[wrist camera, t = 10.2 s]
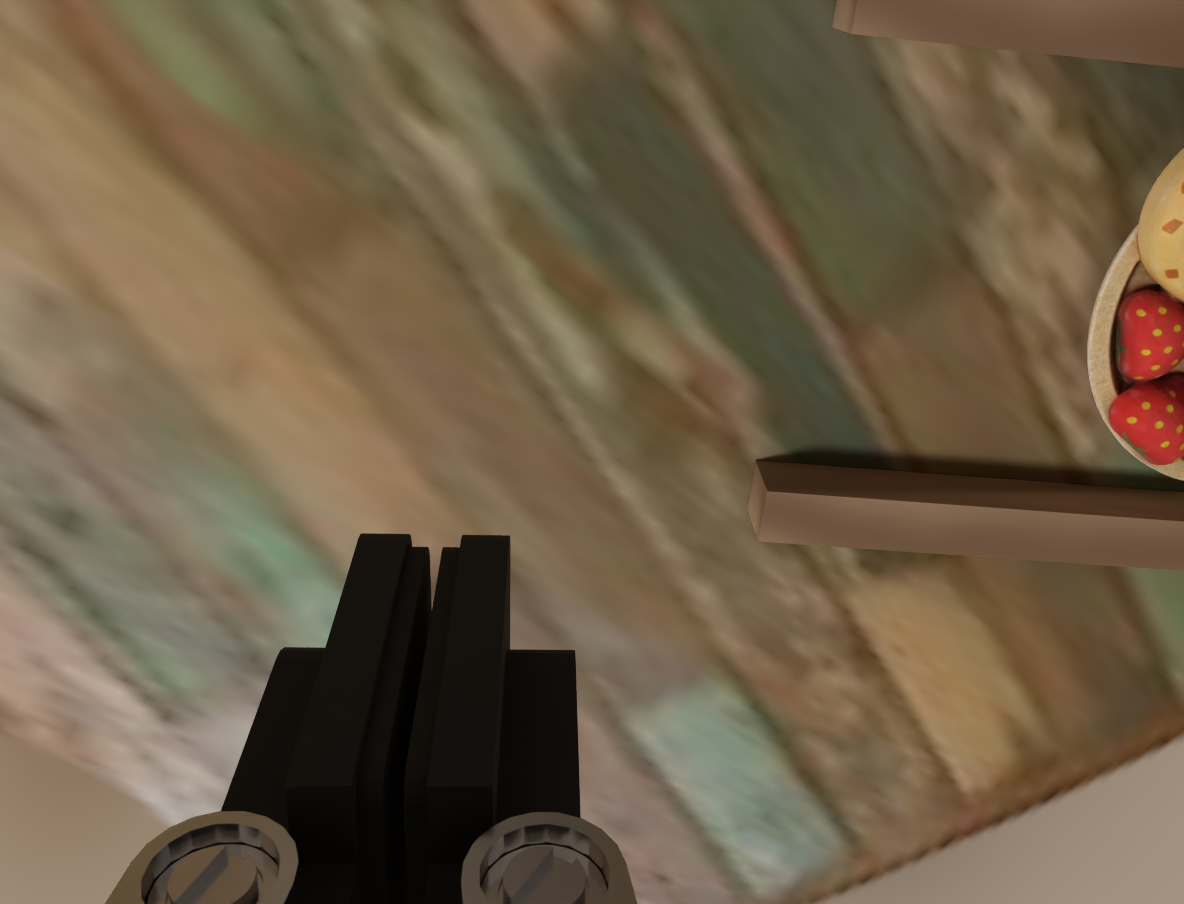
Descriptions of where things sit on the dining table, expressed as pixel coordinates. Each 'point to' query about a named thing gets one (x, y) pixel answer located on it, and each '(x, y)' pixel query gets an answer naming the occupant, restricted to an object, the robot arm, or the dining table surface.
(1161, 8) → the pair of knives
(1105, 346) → the toy food set
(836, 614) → the dining table surface
